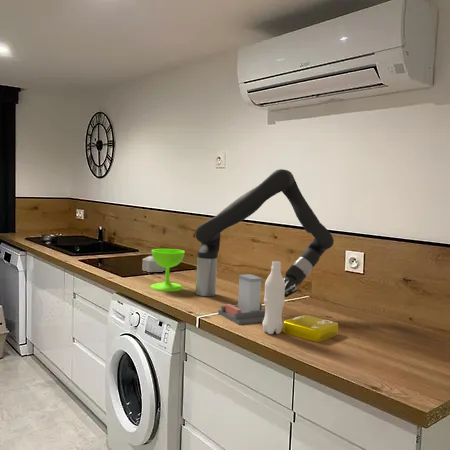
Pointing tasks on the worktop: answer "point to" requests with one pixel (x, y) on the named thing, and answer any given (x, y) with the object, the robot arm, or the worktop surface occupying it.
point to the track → (241, 314)
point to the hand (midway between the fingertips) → (273, 302)
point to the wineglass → (167, 267)
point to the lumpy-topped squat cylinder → (151, 265)
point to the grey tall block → (249, 293)
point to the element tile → (310, 328)
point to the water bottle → (274, 300)
